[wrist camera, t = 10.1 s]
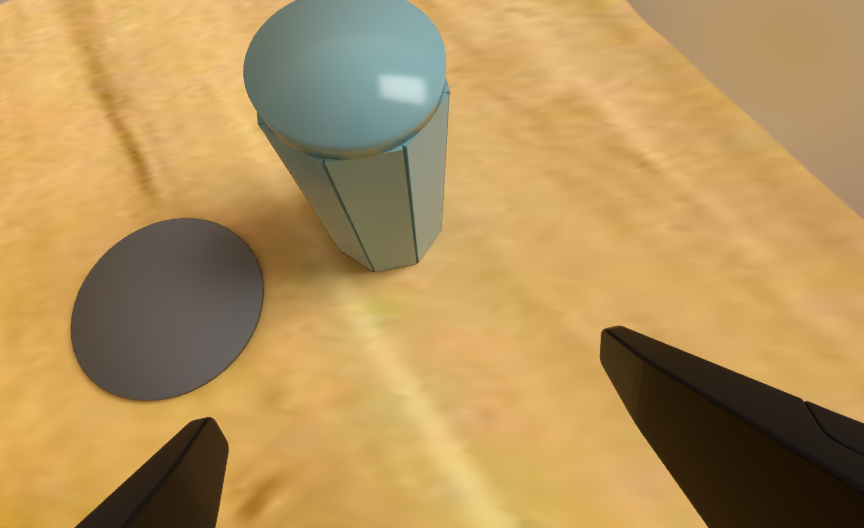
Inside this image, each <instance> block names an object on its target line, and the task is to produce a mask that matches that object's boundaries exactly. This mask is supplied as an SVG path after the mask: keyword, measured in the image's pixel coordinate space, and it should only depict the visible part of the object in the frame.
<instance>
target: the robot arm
mask: <svg viewBox="0 0 864 528" xmlns="http://www.w3.org/2000/svg"><path fill="white" fill-rule="evenodd" d="M600 361H601V364H602V366H603V368H604V370H605V371H606V373H607V375H608V377H609V379H610V380H611V382H612V384H613V386H614V387H615V389H616V391H617V393H618V394H619V396H620V398H621V400H622V402H623V403H624V405H625V407H626V409H627V410H628V412H629V414H630V416H631V417H632V419H633V421H634V422H635V424H636V425H637V427H638V428H639V430H640V431H641V433H642V434H643V436H644V437H645V439H646V440H647V441H648V443H649V444H650V446H651V447H652V448H653V450H654V451H655V453H656V454H657V456H658V457H659V458H660V460H661V461H662V463H663V464H664V465H665V467H666V468H667V470H668V471H669V473H670V474H671V475H672V477H673V478H674V480H675V481H676V482H677V484H678V485H679V487H680V488H681V490H682V491H683V492H684V494H685V495H686V497H687V498H688V499H689V501H690V502H691V504H692V505H693V507H694V508H695V509H696V511H697V512H698V514H699V515H700V516H701V518H702V519H703V521H704V522H705V523H706V525H707V526H708V528H864V423H862V422H859V421H857V420H854V419H851V418H849V417H846V416H844V415H841V414H839V413H836V412H833V411H831V410H829V409H826V408H824V407H821V406H819V405H816V404H814V403H811V402H809V401H805V402H804V401H803V400H802V399H801V398H799V397H796V396H794V395H791V394H789V393H786V392H784V391H781V390H779V389H776V388H774V387H771V386H769V385H767V384H764V383H762V382H759V381H757V380H754V379H752V378H749V377H747V376H744V375H742V374H739V373H737V372H734V371H732V370H729V369H727V368H725V367H722V366H720V365H717V364H715V363H712V362H710V361H707V360H705V359H702V358H700V357H697V356H695V355H692V354H690V353H687V352H685V351H682V350H680V349H678V348H675V347H673V346H670V345H668V344H665V343H663V342H660V341H658V340H655V339H653V338H650V337H648V336H645V335H643V334H640V333H638V332H636V331H633V330H631V329H628V328H626V327H623V326H613V327H609V328H605V329H603V330H602V332H601V343H600ZM228 452H229V447H228V442H227V440H226V438H225V436H224V435H223V433H222V431H221V429H220V428H219V426H218V424H217V422H216V421H215V419H213V418H212V417H206V418H202V419H197V420H193V421H191V422H189V423H188V424H187V425H186V426H185V427H184V428H183V429H182V430H181V431H179V432H178V433H177V434H176V435H175V436H174V437H173V438H172V439H171V440H170V441H169V442H167V443H166V444H165V445H164V446H163V447H162V448H161V449H160V450H159V451H158V452H157V453H155V454H154V455H153V456H152V457H151V458H150V459H149V460H148V461H147V462H146V463H145V464H143V465H142V466H141V467H140V468H139V469H138V470H137V471H136V472H135V473H134V474H133V475H131V476H130V477H129V478H128V479H127V480H126V481H125V482H124V483H123V484H122V485H121V486H119V487H118V488H117V489H116V490H115V491H114V492H113V493H112V494H111V495H110V496H109V497H107V498H106V499H105V500H104V501H103V502H102V503H101V504H100V505H99V506H98V507H96V508H95V509H94V510H93V511H92V512H91V513H90V514H89V515H88V516H87V517H86V518H84V519H83V520H82V521H81V522H80V523H79V524H78V525H77V526H76V527H75V528H215V526H216V522H217V517H218V512H219V506H220V500H221V494H222V488H223V482H224V476H225V470H226V464H227V459H228Z"/></svg>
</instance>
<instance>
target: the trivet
mask: <svg viewBox="0 0 864 528" xmlns="http://www.w3.org/2000/svg"><path fill="white" fill-rule="evenodd" d="M263 294H264V288H263V278H262V274H261V269H260V266H259V264H258V261H257V259H256V257H255V256H254V254H253V252H252V250H251V249H250V248H249V247H248V245H247V244H246V243H245V242H244V241H243V240H242V239H241V238H240V237H238V236H237V235H236V234H235V233H233V232H232V231H230V230H229V229H227V228H225V227H223V226H221V225H219V224H217V223H214V222H211V221H207V220H202V219H195V218H179V219H171V220H165V221H161V222H158V223H154V224H151V225H148V226H146V227H144V228H141V229H139V230H137V231H135V232H134V233H132V234H130V235H128V236H127V237H125V238H124V239H122V240H121V241H119V242H118V243H117V244H115V245H114V246H113V247H112V248H111V249H109V250H108V251H107V252H106V253H105V254H104V255H103V256H102V257H101V258H100V259H99V261H98V262H97V263H96V264H95V266H94V267H93V268H92V269H91V271H90V272H89V274H88V276H87V277H86V279H85V280H84V282H83V284H82V286H81V288H80V290H79V292H78V295H77V298H76V301H75V304H74V308H73V313H72V319H71V340H72V345H73V349H74V353H75V355H76V358H77V360H78V362H79V364H80V366H81V368H82V369H83V371H84V372H85V373H86V374H87V376H88V377H89V378H90V379H91V380H92V381H93V382H94V383H96V384H97V385H98V386H99V387H101V388H102V389H104V390H106V391H108V392H109V393H112V394H114V395H117V396H120V397H123V398H128V399H133V400H160V399H167V398H172V397H177V396H180V395H183V394H186V393H189V392H191V391H193V390H195V389H197V388H199V387H201V386H203V385H205V384H207V383H208V382H210V381H211V380H213V379H214V378H216V377H217V376H218V375H220V374H221V373H222V372H223V371H224V370H226V369H227V368H228V367H229V366H230V365H231V364H232V363H233V362H234V361H235V360H236V359H237V357H238V356H239V355H240V353H241V352H242V351H243V350H244V348H245V347H246V345H247V343H248V342H249V340H250V339H251V337H252V335H253V333H254V331H255V328H256V326H257V324H258V320H259V317H260V314H261V310H262V305H263Z"/></svg>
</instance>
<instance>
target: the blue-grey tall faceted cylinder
mask: <svg viewBox="0 0 864 528" xmlns="http://www.w3.org/2000/svg"><path fill="white" fill-rule="evenodd" d="M243 77H244V83H245V88H246V91H247V94H248V97H249V98H250V100H251V102H252V104H253V106H254V107H255V109H256V111H257V119H258V125H259V126H260V128H261V129H262V131H263V132H264V134H265V135H266V137H267V139H268V140H269V142H270V143H271V145H272V146H273V148H274V149H275V151H276V152H277V154H278V156H279V157H280V159H281V160H282V162H283V163H284V165H285V166H286V168H287V169H288V171H289V173H290V174H291V176H292V177H293V179H294V180H295V182H296V183H297V185H298V186H299V188H300V190H301V191H302V193H303V194H304V196H305V197H306V199H307V200H308V202H309V203H310V205H311V207H312V208H313V210H314V211H315V213H316V214H317V216H318V217H319V219H320V220H321V222H322V224H323V225H324V227H325V228H326V230H327V231H328V233H329V234H330V236H331V237H332V239H333V241H334V242H335V244H336V245H337V247H338V248H339V250H340V251H342V252H343V253H345V254H346V255H348V256H349V257H351V258H353V259H354V260H356V261H357V262H359V263H360V264H362V265H363V266H365V267H367V268H368V269H370V270H371V271H374V270H375V272H379V271H384V270H389V269H394V268H399V267H404V266H409V265H414V264H417V262H420V260H421V259H422V257H423V256H424V254H425V253H426V252H427V250H428V249H429V247H430V246H431V244H432V243H433V242H434V240H435V239H436V237H437V236H438V234H439V233H440V232H441V228H442V214H443V197H444V179H445V162H446V145H447V128H448V111H449V94H450V91H449V87H448V84H447V80H446V53H445V48H444V43H443V41H442V38H441V35H440V33H439V32H438V30H437V28H436V26H435V25H434V24H433V22H432V21H431V20H430V19H429V17H428V16H427V15H425V14H424V13H423V12H422V11H421V10H420V9H419V8H417V7H416V6H414V5H413V4H411V3H410V2H408V1H406V0H296V1H294V2H292V3H290V4H288V5H286V6H285V7H283V8H282V9H280V10H279V11H277V12H276V13H275V14H274V15H273V16H271V17H270V18H269V19H268V20H267V21H266V22H265V23H264V24H263V25H262V26H261V27H260V29H259V30H258V32H257V33H256V34H255V36H254V37H253V39H252V41H251V43H250V45H249V47H248V50H247V53H246V56H245V61H244V72H243ZM416 261H417V262H416Z"/></svg>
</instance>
